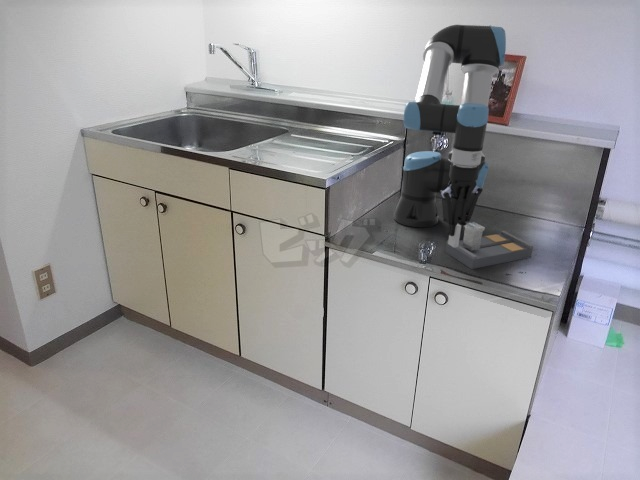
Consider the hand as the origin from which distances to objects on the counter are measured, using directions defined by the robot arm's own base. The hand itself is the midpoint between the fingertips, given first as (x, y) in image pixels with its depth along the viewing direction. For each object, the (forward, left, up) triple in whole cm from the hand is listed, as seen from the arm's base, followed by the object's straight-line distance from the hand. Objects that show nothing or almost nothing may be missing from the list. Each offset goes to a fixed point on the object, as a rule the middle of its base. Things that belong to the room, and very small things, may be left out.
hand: (453, 245), depth 146 cm
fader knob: (0, +7, -2) cm, 7 cm away
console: (0, +14, -5) cm, 15 cm away
